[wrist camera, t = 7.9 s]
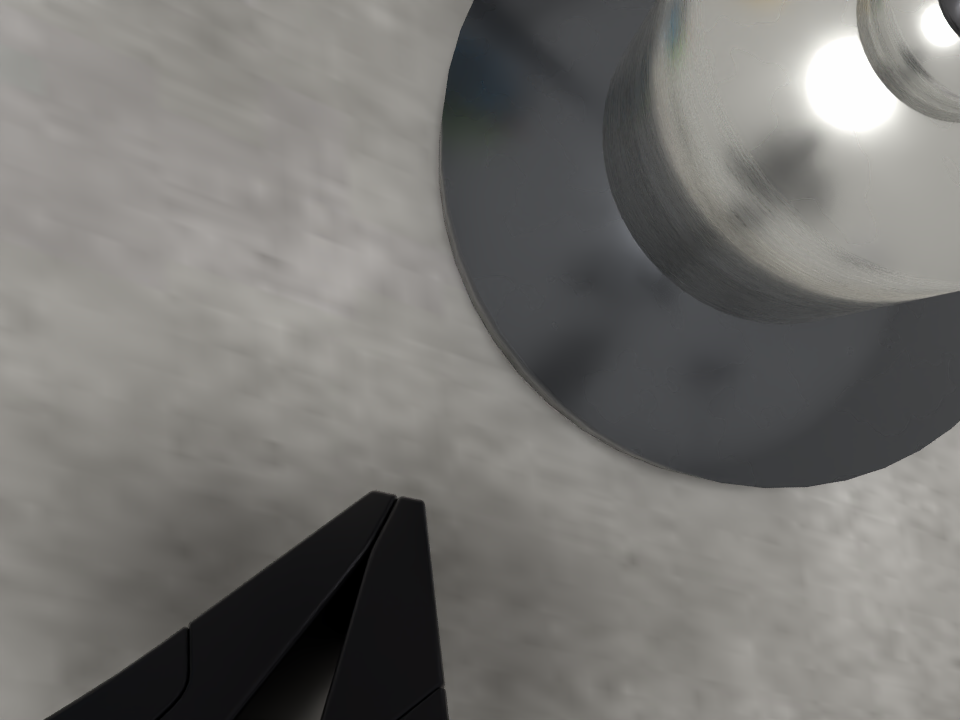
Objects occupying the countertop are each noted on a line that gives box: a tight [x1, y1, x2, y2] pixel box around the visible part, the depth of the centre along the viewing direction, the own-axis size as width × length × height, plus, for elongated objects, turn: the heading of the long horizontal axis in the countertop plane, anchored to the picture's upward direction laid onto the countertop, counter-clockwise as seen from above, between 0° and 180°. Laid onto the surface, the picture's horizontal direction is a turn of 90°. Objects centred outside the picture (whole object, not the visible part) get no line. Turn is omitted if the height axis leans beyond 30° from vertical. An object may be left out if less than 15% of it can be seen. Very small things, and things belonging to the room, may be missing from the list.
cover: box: [602, 0, 960, 324], centre depth 18 cm, size 13×13×8 cm
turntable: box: [439, 0, 960, 488], centre depth 22 cm, size 24×24×2 cm
